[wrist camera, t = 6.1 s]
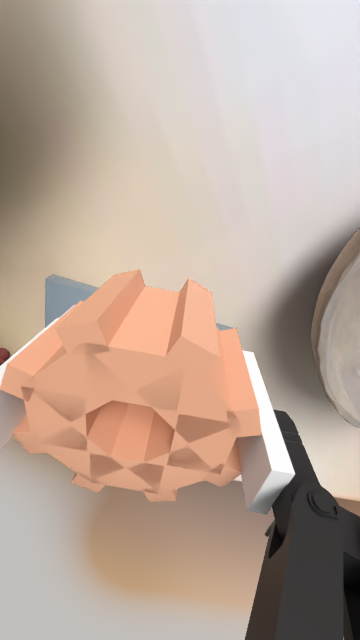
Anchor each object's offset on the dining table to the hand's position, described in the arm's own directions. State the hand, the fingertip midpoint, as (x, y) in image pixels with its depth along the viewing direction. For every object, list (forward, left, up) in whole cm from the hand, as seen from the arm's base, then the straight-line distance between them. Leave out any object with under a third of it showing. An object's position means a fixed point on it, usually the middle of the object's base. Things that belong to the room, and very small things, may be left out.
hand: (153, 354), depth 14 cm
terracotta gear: (0, 0, 0) cm, 0 cm away
